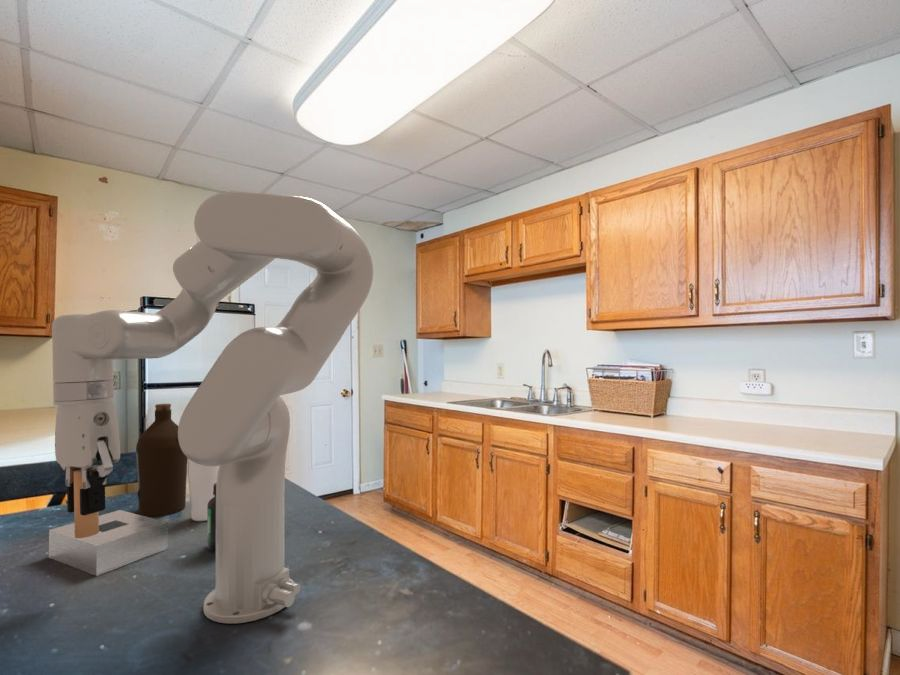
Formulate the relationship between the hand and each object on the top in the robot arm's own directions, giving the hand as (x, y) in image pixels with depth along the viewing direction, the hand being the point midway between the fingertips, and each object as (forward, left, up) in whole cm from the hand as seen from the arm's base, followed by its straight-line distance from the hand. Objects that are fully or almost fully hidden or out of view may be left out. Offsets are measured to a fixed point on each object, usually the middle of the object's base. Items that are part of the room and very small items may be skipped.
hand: (86, 510), depth 74 cm
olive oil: (+28, -29, -13) cm, 42 cm away
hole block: (+13, -10, -13) cm, 20 cm away
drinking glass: (+14, -30, -13) cm, 35 cm away
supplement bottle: (-4, -22, -13) cm, 26 cm away
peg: (0, 0, -4) cm, 4 cm away
